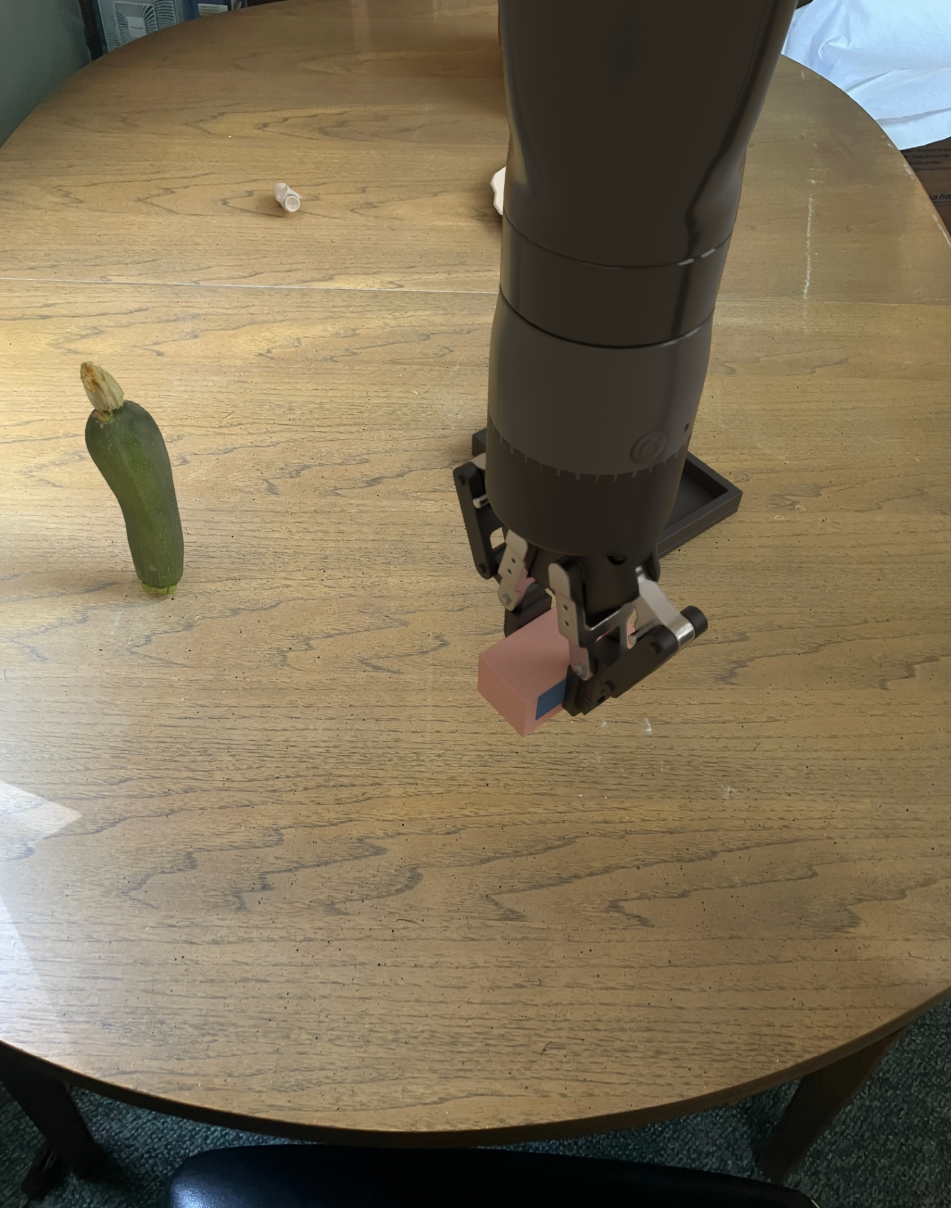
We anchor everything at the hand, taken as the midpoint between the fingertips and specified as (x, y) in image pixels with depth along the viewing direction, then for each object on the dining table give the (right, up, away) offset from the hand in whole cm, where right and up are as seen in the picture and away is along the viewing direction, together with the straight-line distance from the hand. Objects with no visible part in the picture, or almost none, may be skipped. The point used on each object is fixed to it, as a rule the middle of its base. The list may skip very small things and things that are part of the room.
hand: (553, 674), depth 47 cm
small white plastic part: (-24, +46, +55) cm, 76 cm away
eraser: (0, 0, 0) cm, 0 cm away
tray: (+6, +13, +28) cm, 32 cm away
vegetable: (-25, +5, +20) cm, 33 cm away
